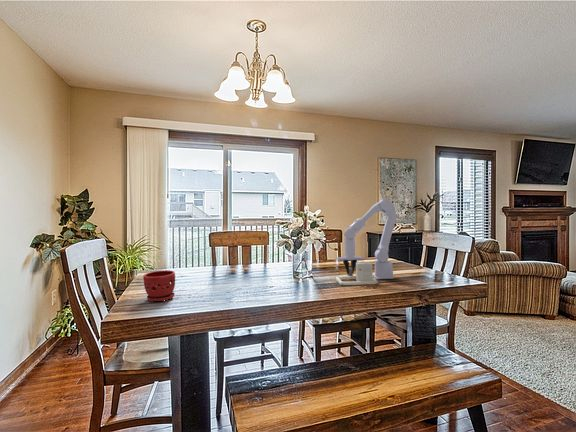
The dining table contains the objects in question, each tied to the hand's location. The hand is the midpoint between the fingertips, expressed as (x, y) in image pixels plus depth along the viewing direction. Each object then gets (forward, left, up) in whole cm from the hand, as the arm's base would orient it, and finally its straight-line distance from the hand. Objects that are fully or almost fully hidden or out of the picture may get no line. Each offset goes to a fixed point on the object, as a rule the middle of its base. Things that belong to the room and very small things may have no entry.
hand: (350, 273), depth 184 cm
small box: (-4, +13, -2) cm, 14 cm away
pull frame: (0, +8, -2) cm, 9 cm away
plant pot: (+95, +32, -2) cm, 100 cm away
